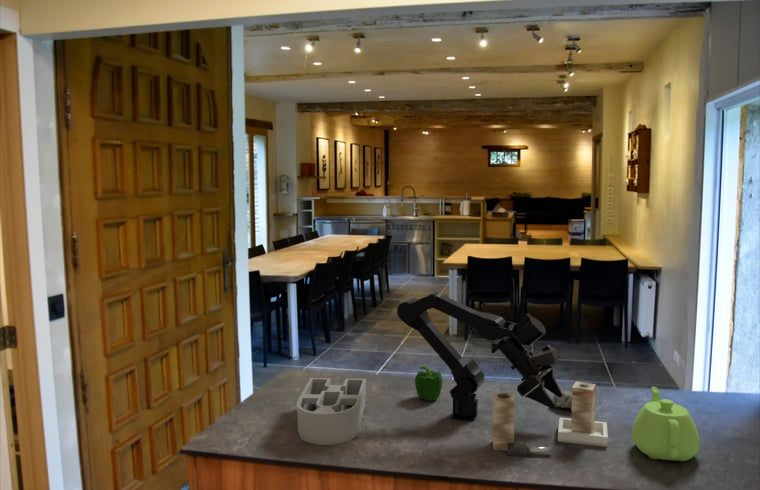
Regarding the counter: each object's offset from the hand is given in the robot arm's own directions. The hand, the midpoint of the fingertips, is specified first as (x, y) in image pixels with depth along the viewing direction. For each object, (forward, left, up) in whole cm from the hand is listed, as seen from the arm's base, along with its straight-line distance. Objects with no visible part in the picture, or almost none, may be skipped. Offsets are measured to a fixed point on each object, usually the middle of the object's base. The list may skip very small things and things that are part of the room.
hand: (558, 402), depth 167 cm
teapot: (+25, -4, -8) cm, 27 cm away
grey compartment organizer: (-60, -12, -9) cm, 61 cm away
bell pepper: (-39, +15, -8) cm, 42 cm away
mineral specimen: (+3, +19, -9) cm, 21 cm away
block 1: (-13, -13, -8) cm, 20 cm away
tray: (+6, -1, -8) cm, 10 cm away
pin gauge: (-7, -16, -8) cm, 19 cm away
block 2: (+6, -1, -8) cm, 10 cm away
